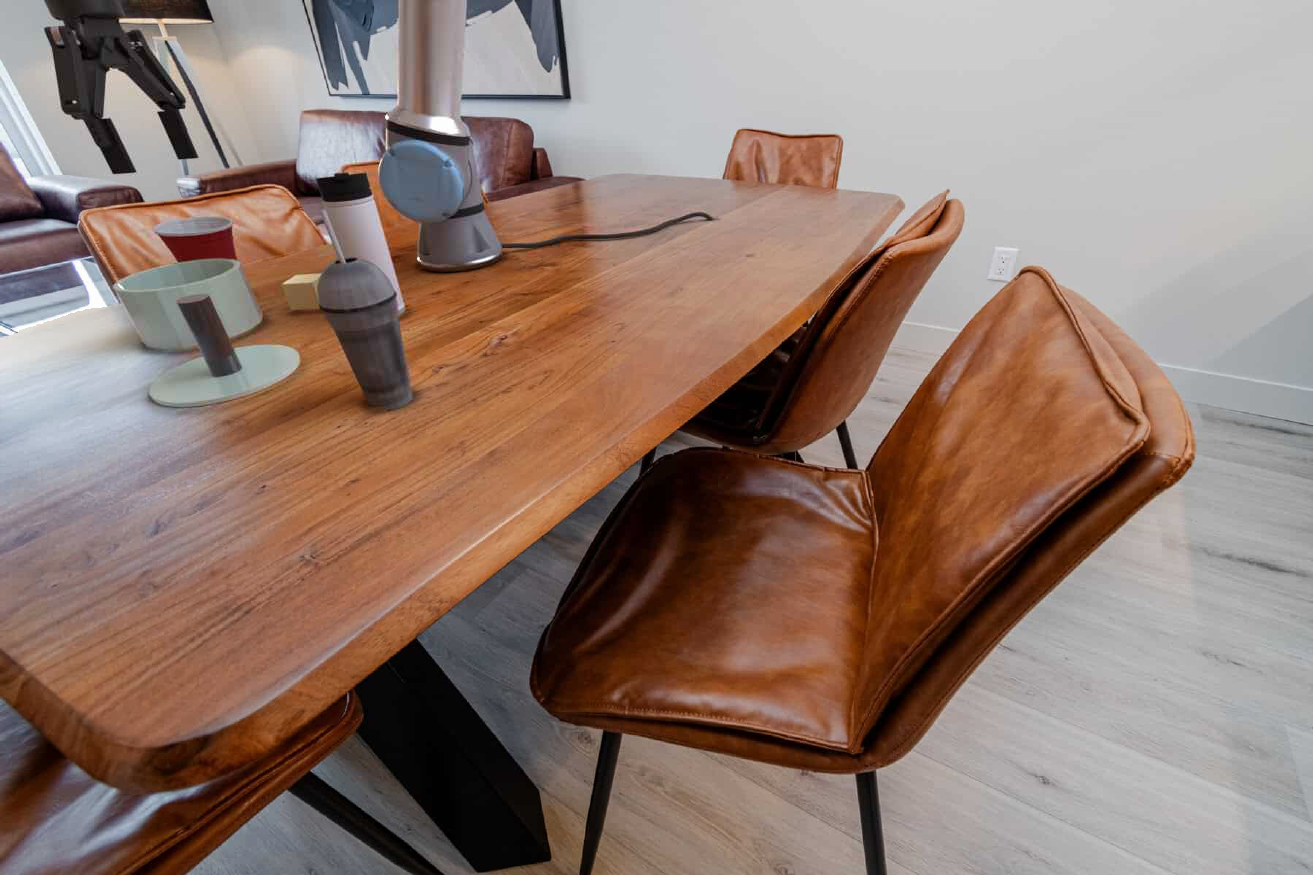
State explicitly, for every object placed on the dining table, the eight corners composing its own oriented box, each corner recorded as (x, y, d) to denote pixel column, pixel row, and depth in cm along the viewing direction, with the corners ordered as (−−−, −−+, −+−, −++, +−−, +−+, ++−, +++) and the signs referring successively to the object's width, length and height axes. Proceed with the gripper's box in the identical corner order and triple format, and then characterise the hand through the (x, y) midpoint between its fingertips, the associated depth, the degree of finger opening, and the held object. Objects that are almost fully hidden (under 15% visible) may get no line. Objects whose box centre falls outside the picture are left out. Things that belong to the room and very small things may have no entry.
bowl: (282, 310, 93) (260, 255, 88) (229, 349, 81) (200, 288, 76) (187, 316, 93) (160, 261, 88) (120, 356, 80) (85, 294, 76)
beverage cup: (384, 423, 62) (315, 223, 51) (341, 407, 65) (269, 216, 54) (439, 393, 67) (388, 205, 56) (397, 380, 70) (341, 200, 59)
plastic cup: (226, 307, 95) (191, 230, 89) (171, 305, 98) (133, 230, 91) (275, 285, 104) (247, 214, 98) (223, 284, 106) (192, 214, 100)
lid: (323, 349, 79) (295, 273, 74) (263, 407, 66) (222, 320, 60) (205, 356, 79) (167, 280, 73) (120, 416, 66) (67, 329, 60)
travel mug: (364, 328, 85) (313, 176, 74) (360, 314, 90) (312, 170, 79) (409, 319, 87) (367, 170, 76) (403, 305, 92) (363, 165, 81)
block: (335, 301, 95) (325, 273, 93) (322, 311, 92) (312, 282, 89) (306, 303, 95) (295, 274, 93) (292, 313, 92) (281, 284, 89)
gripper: (116, -8, 86) (187, 155, 97) (-53, -28, 65) (63, 182, 76) (168, -11, 85) (233, 152, 97) (16, -33, 64) (122, 178, 76)
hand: (159, 166), depth 86 cm, fingers open, 13 cm apart
